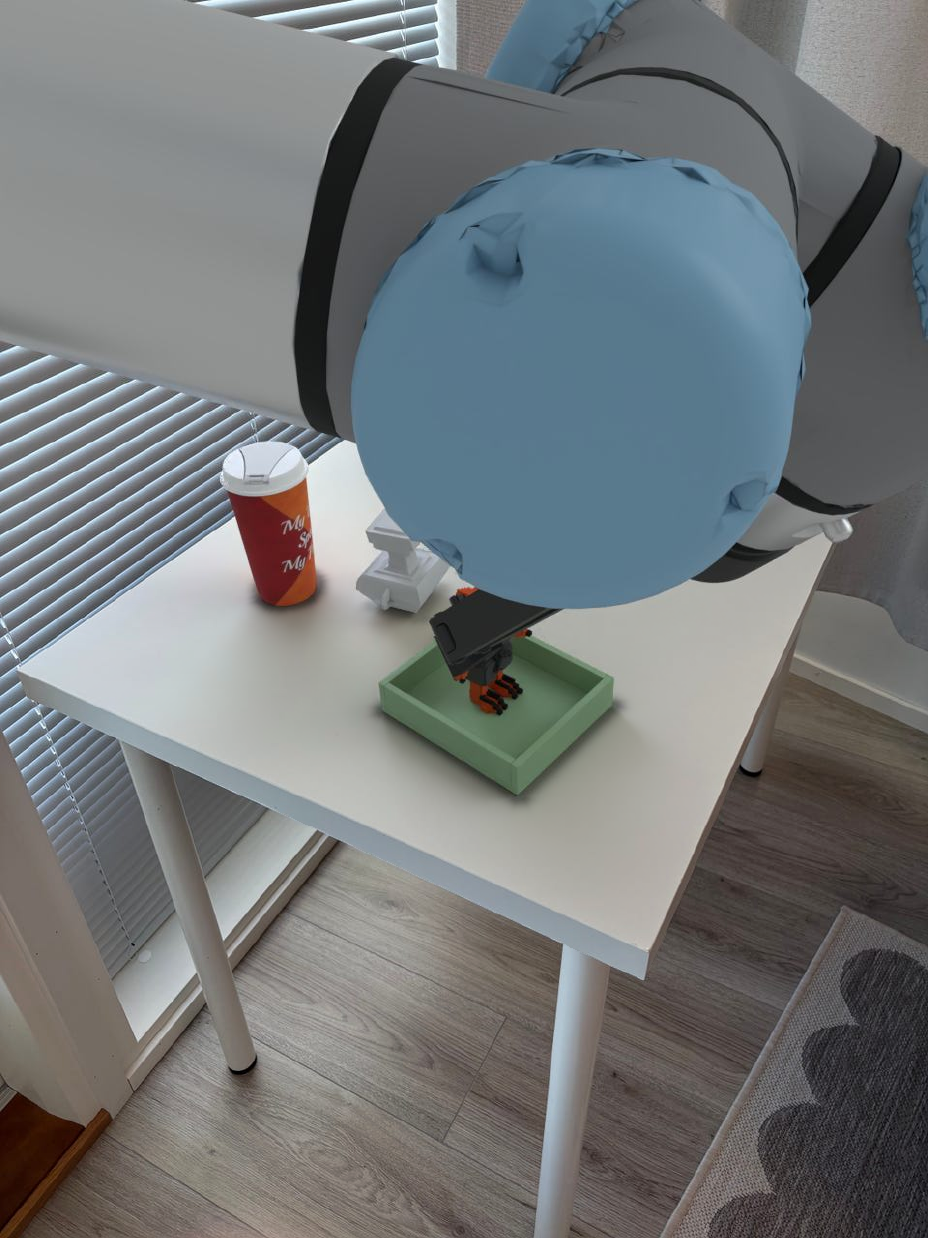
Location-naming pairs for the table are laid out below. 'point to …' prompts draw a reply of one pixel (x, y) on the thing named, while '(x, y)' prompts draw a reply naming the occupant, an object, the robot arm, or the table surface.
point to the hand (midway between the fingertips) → (543, 614)
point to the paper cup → (273, 518)
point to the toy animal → (492, 675)
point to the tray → (525, 732)
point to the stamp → (399, 568)
